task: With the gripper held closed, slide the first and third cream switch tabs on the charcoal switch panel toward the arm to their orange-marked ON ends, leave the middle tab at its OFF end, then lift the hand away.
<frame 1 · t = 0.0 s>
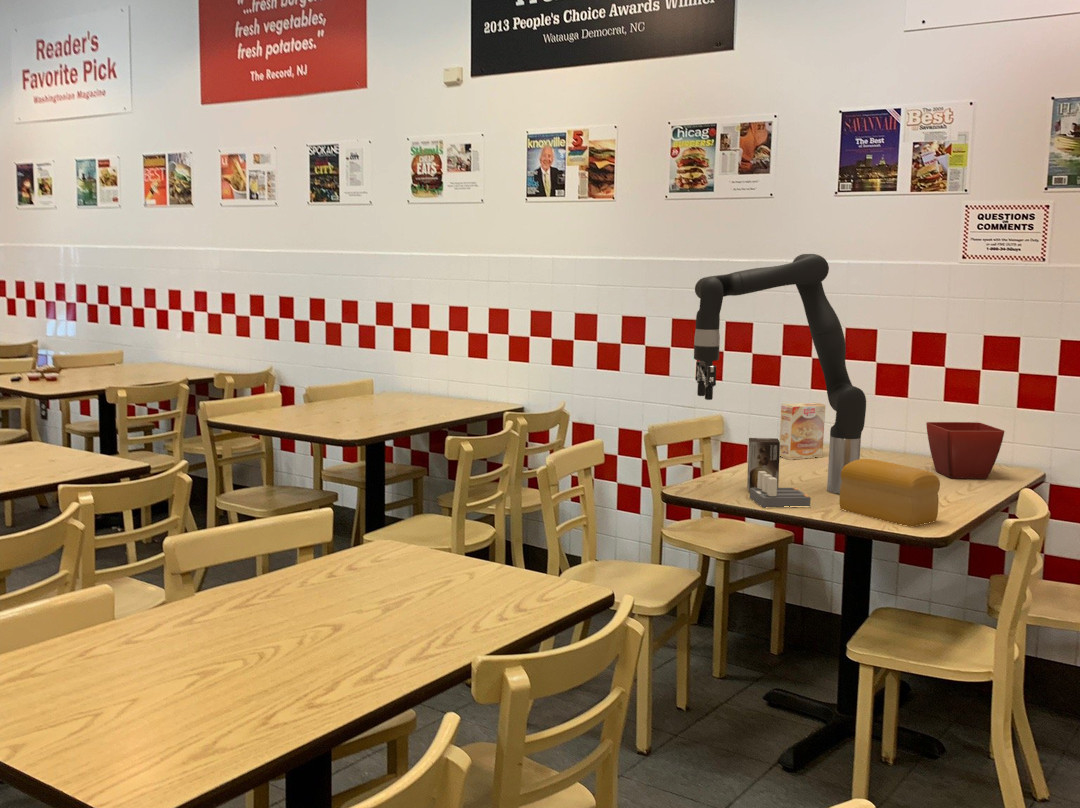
hand: (704, 397, 319), 29 cm above the table, tool pointing down, fingers open, 8 cm apart
bread: (886, 516, 299), on the table
tab b: (767, 483, 311), point 6 cm above the table, slide at 0.0 cm
tab a: (762, 480, 315), point 6 cm above the table, slide at 0.0 cm
switch panel: (779, 502, 312), on the table
coffee box: (762, 491, 328), on the table
plant pot: (960, 475, 357), on the table
coffeecake box: (800, 457, 384), on the table
tab c: (772, 486, 306), point 6 cm above the table, slide at 0.0 cm
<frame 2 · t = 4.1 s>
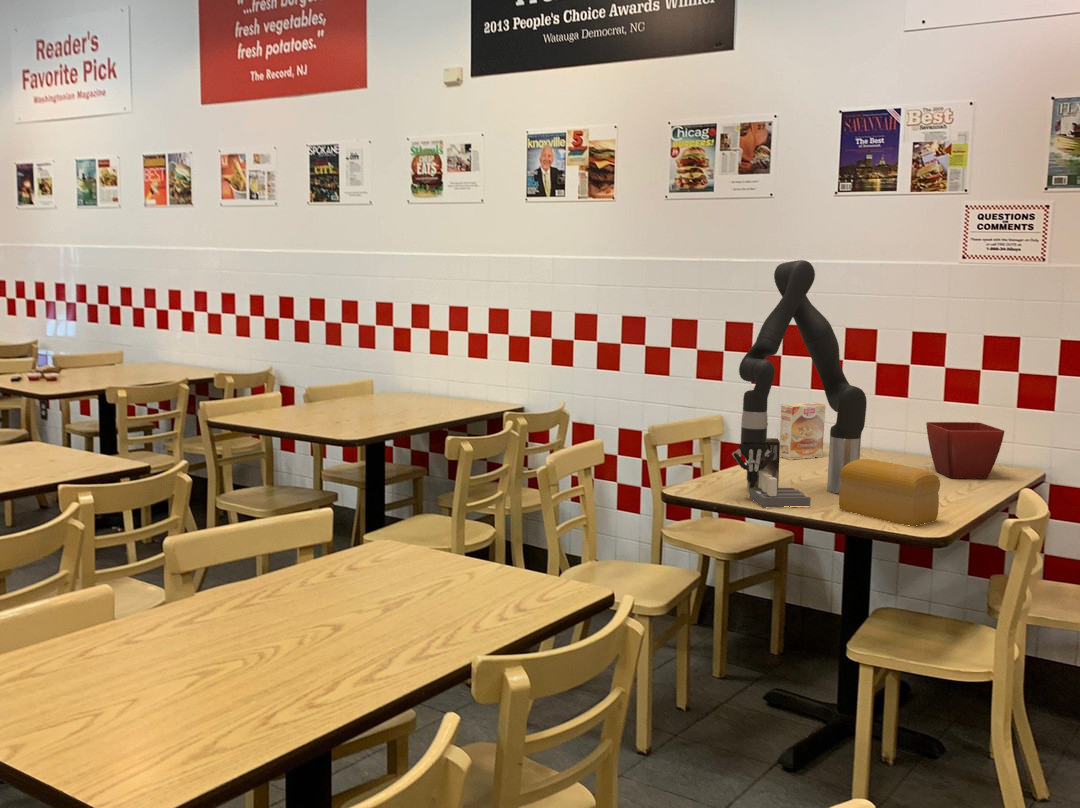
hand: (751, 483, 315), 5 cm above the table, tool pointing down, fingers closed
tab a: (763, 480, 315), point 6 cm above the table, slide at 0.4 cm, touching gripper
everything else where it was.
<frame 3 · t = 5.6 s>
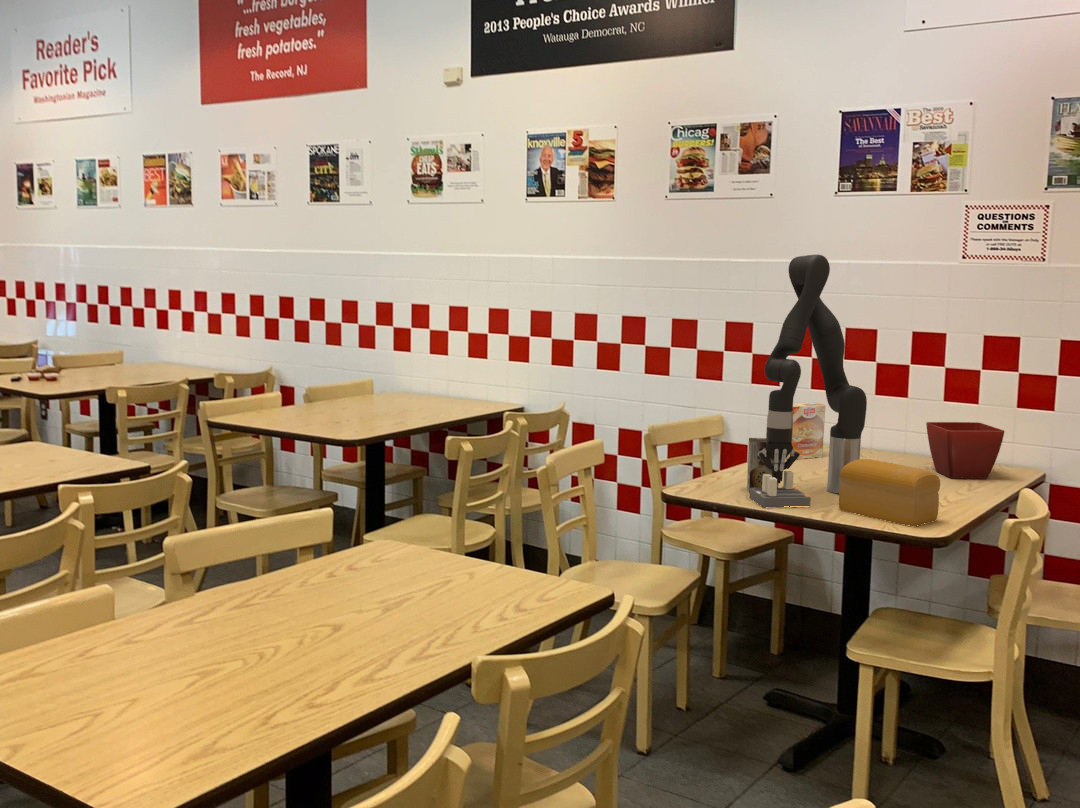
hand: (776, 482, 316), 5 cm above the table, tool pointing down, fingers closed
tab a: (788, 480, 316), point 6 cm above the table, slide at 8.1 cm, touching gripper
everything else where it was.
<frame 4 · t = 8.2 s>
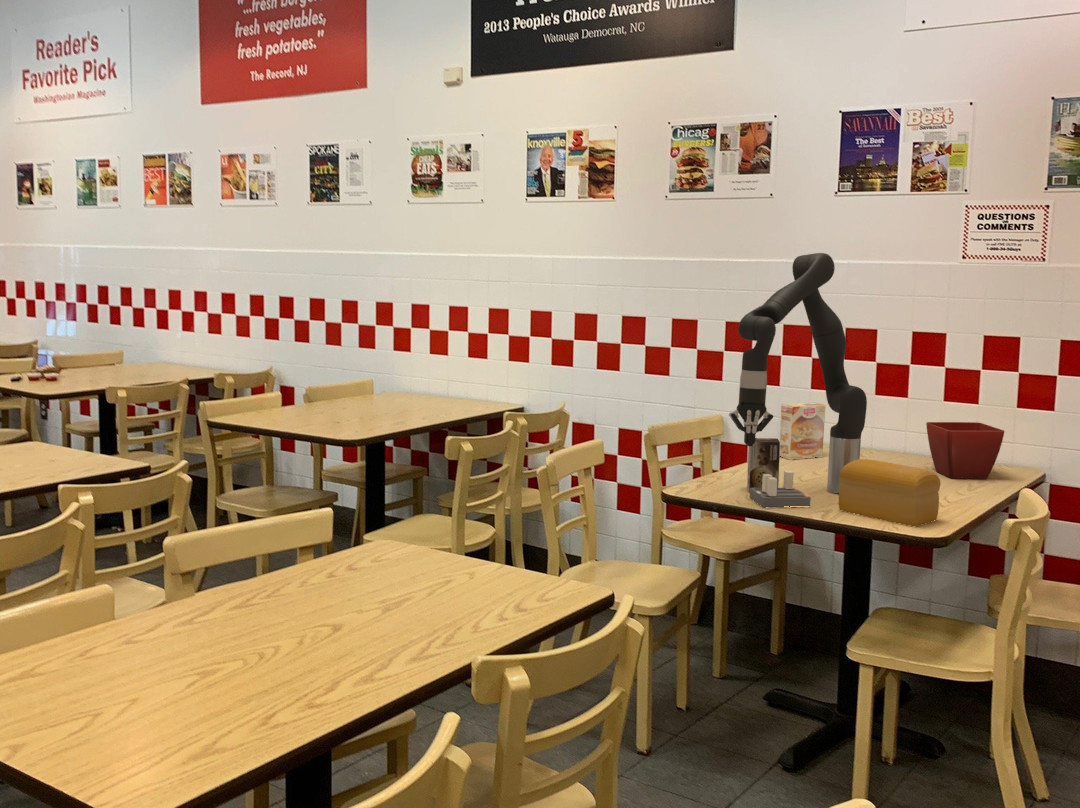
hand: (749, 445, 304), 18 cm above the table, tool pointing down, fingers closed
tab a: (788, 480, 316), point 6 cm above the table, slide at 8.1 cm
everything else where it was.
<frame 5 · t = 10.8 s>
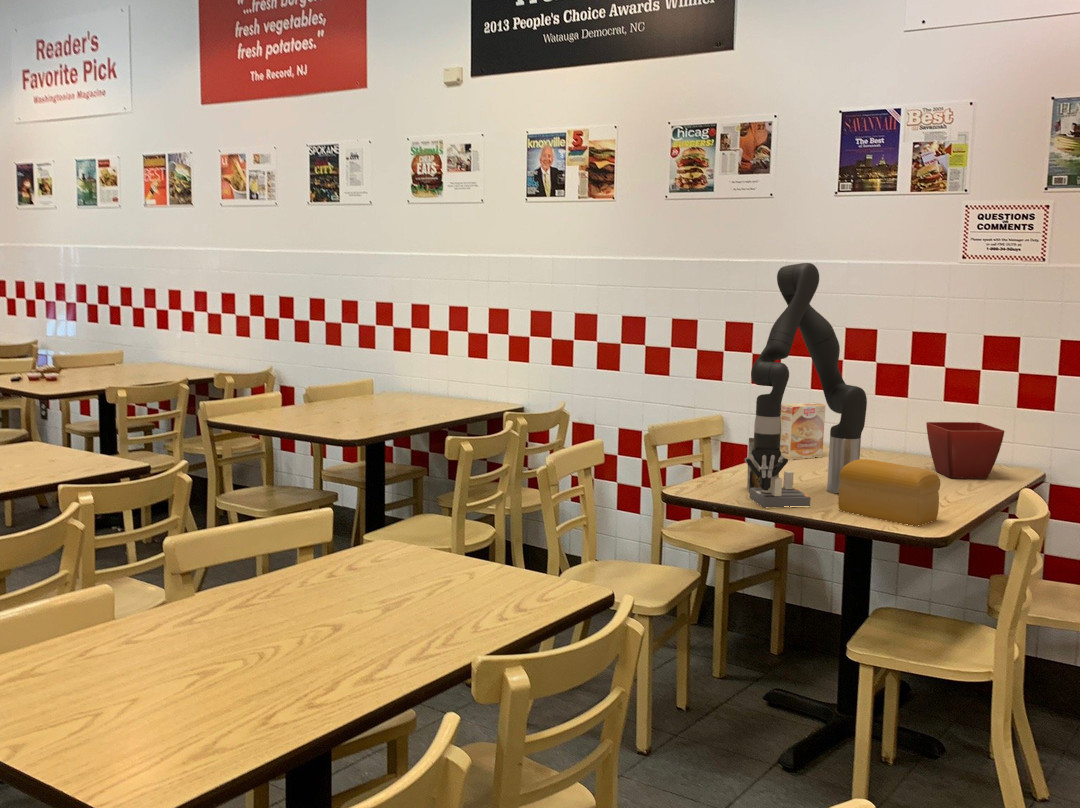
hand: (764, 489, 306), 5 cm above the table, tool pointing down, fingers closed
tab c: (776, 486, 307), point 6 cm above the table, slide at 1.5 cm, touching gripper
everything else where it was.
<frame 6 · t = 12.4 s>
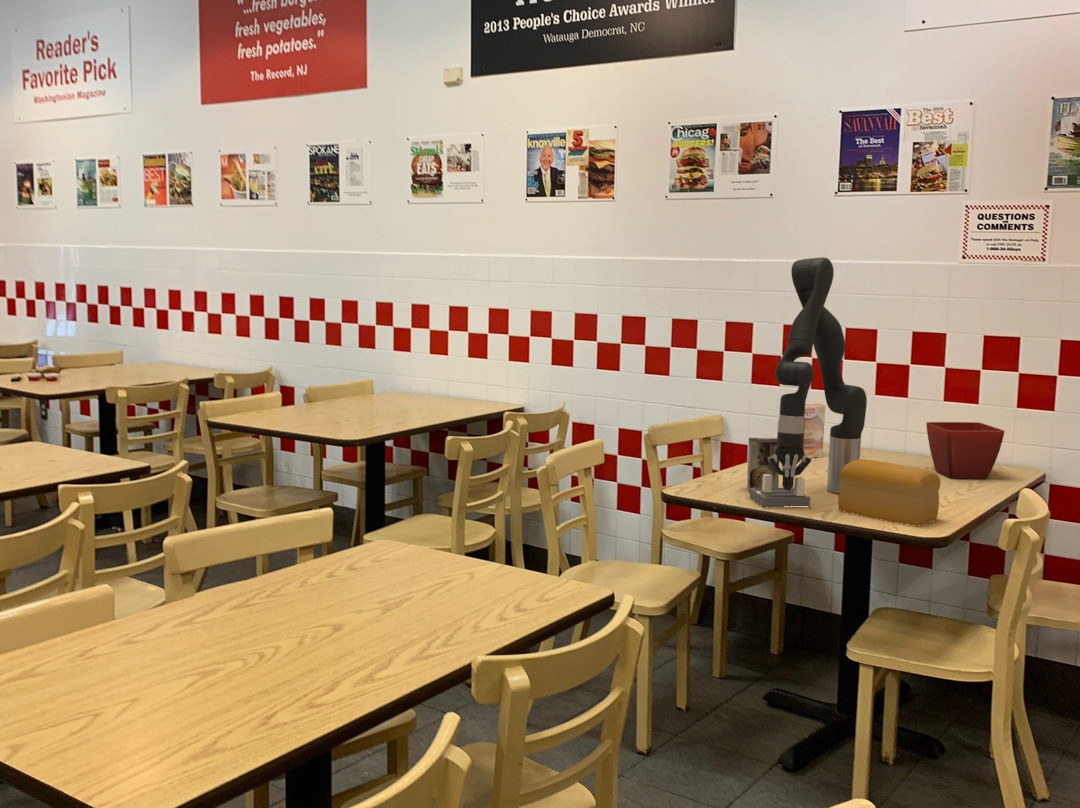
hand: (787, 489, 307), 5 cm above the table, tool pointing down, fingers closed
tab c: (799, 486, 307), point 6 cm above the table, slide at 8.1 cm, touching gripper
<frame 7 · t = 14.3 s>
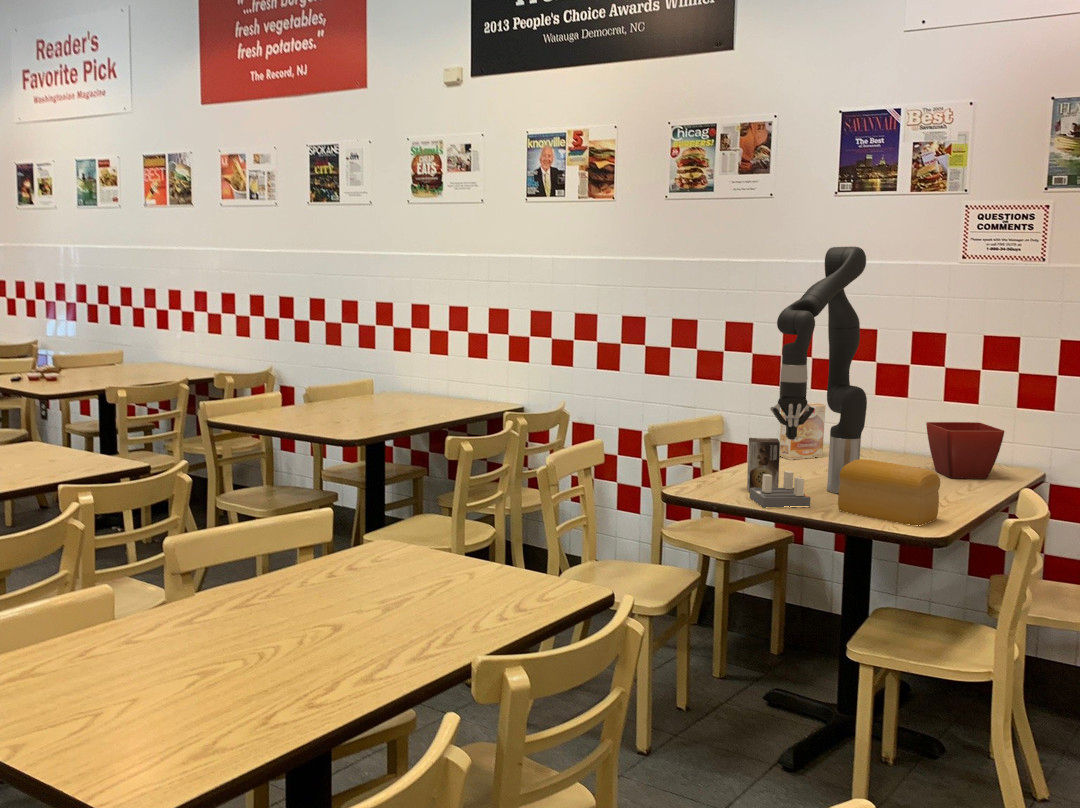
hand: (791, 439, 306), 20 cm above the table, tool pointing down, fingers closed
tab c: (798, 486, 307), point 6 cm above the table, slide at 8.1 cm
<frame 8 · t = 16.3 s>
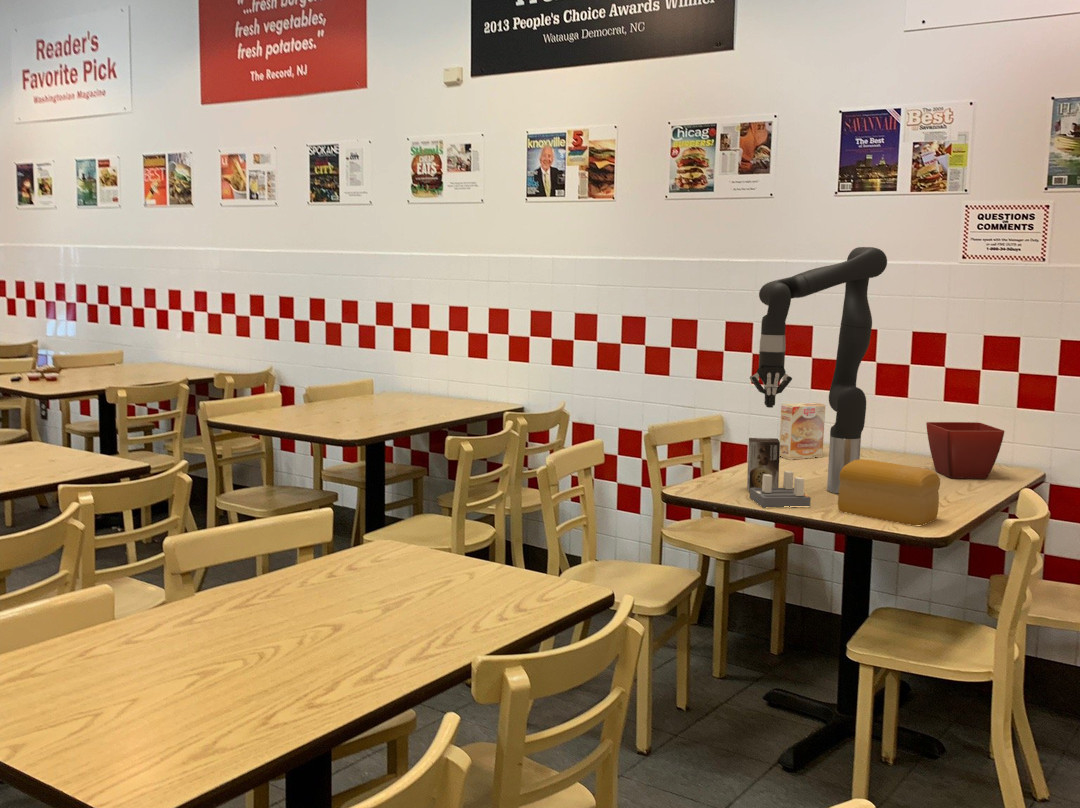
hand: (769, 407, 318), 27 cm above the table, tool pointing down, fingers closed
at the end: tab a slide at 8.1 cm; tab c slide at 8.1 cm; tab b slide at 0.0 cm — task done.
